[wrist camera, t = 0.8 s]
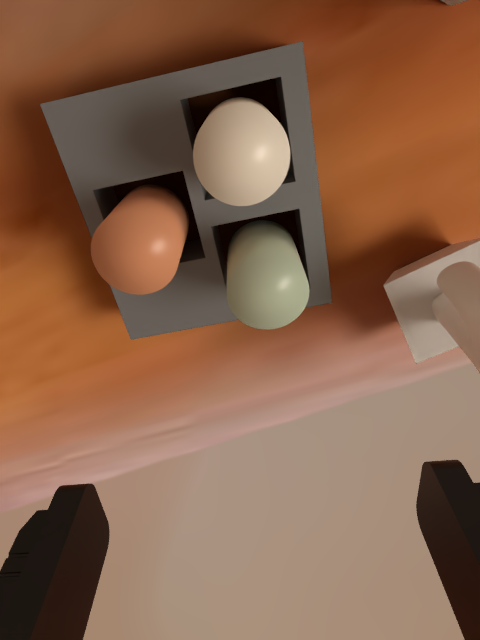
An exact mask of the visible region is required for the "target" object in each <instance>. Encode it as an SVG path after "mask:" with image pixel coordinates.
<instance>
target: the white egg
mask: <svg viewBox="0 0 480 640" xmlns="http://www.w3.org/2000/svg"><path fill="white" fill-rule="evenodd" d="M193 162H194V167H195V171H196V174H197V176H198V179H199V181H200V182H201V184H202V185H203V187H204V188H205V189H206V190H207V191H208V192H209V193H210V194H211V195H212V196H213V197H215V198H216V199H218V200H219V201H221V202H224V203H226V204H229V205H233V206H249V205H254V204H257V203H260V202H262V201H264V200H265V199H267V198H269V197H270V196H271V195H273V194H274V193H275V192H276V191H277V189H278V188H279V187H280V186H281V184H282V183H283V181H284V179H285V177H286V175H287V172H288V168H289V164H290V146H289V141H288V138H287V135H286V133H285V131H284V129H283V127H282V125H281V124H280V122H279V121H278V120H277V119H276V118H275V117H274V116H273V115H272V114H271V113H270V111H269V110H268V109H267V108H266V107H265V106H263V105H262V104H261V103H259V102H258V101H255V100H253V99H250V98H245V97H235V98H230V99H227V100H225V101H223V102H221V103H220V104H218V105H217V106H216V107H215V108H214V109H213V110H212V111H211V112H210V114H209V115H208V117H207V118H206V120H205V121H204V123H203V125H202V126H201V128H200V130H199V132H198V134H197V136H196V139H195V143H194V148H193Z"/></svg>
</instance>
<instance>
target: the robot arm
mask: <svg viewBox="0 0 480 640" xmlns="http://www.w3.org/2000/svg"><path fill="white" fill-rule="evenodd" d="M416 508H417V516H418V521H419V525H420V529H421V531H422V534H423V536H424V539H425V541H426V544H427V546H428V549H429V551H430V554H431V556H432V559H433V561H434V564H435V566H436V569H437V571H438V574H439V576H440V579H441V581H442V584H443V586H444V589H445V591H446V594H447V596H448V599H449V601H450V604H451V606H452V609H453V611H454V614H455V616H456V619H457V621H458V624H459V626H460V629H461V631H462V634H463V636H464V639H465V640H480V483H473V482H472V480H471V478H470V476H469V475H468V473H467V471H466V469H465V468H464V466H463V465H462V463H461V462H460V461H458V460H446V461H432V462H424V464H423V466H422V472H421V478H420V485H419V491H418V497H417V504H416ZM108 544H109V524H108V520H107V518H106V515H105V512H104V510H103V507H102V505H101V502H100V499H99V497H98V494H97V491H96V489H95V487H94V485H93V484H78V485H63V486H60V487H59V488H58V489H57V491H56V492H55V494H54V497H53V499H52V501H51V504H50V506H49V508H48V510H39V511H36V513H35V514H34V515H33V516H32V517H31V518H30V519H29V521H28V522H27V523H26V524H25V525H24V526H23V527H22V528H21V530H20V531H19V533H18V535H17V537H16V539H15V541H14V543H13V545H12V548H11V550H10V552H9V557H8V558H7V559H6V560H5V562H4V564H3V566H2V569H1V571H0V640H83V637H84V633H85V630H86V626H87V622H88V619H89V615H90V611H91V608H92V604H93V600H94V596H95V593H96V589H97V586H98V582H99V578H100V575H101V571H102V567H103V564H104V560H105V556H106V553H107V549H108Z"/></svg>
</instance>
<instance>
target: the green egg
mask: <svg viewBox="0 0 480 640" xmlns="http://www.w3.org/2000/svg"><path fill="white" fill-rule="evenodd" d="M226 293H227V302H228V305H229V307H230V309H231V311H232V313H233V314H234V315H235V316H236V318H237V319H239V320H240V321H241V322H243V323H244V324H246V325H248V326H250V327H253V328H257V329H264V330H267V329H276V328H280V327H283V326H285V325H287V324H289V323H291V322H292V321H294V320H295V319H296V318H297V317H298V316H299V315H300V314H301V313H302V312H303V310H304V309H305V307H306V305H307V302H308V298H309V283H308V280H307V277H306V274H305V271H304V268H303V266H302V263H301V260H300V257H299V254H298V252H297V249H296V246H295V243H294V240H293V238H292V236H291V235H290V233H289V232H288V231H287V230H286V229H285V228H284V227H283V226H281V225H280V224H278V223H275V222H272V221H268V220H258V221H253V222H250V223H247V224H246V225H244V226H242V227H241V228H240V229H238V230H237V231H236V233H235V234H234V235H233V237H232V239H231V241H230V243H229V247H228V263H227V291H226Z"/></svg>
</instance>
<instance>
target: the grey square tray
mask: <svg viewBox="0 0 480 640" xmlns="http://www.w3.org/2000/svg"><path fill="white" fill-rule="evenodd" d="M273 78H275V81H276V88H277V95H278V102H279V108H280V115H281V122H282V127H283V129H284V131H285V133H286V135H287V138H288V141H289V146H290V164H289V168H288V172H287V175H286V177H285V179H284V181H283V183H282V184H281V186H280V187H279V188H278V189H277V191H276V192H275V193H274V194H273V195H271V196H270V197H269V198H267V199H265V200H264V201H262V202H260V203H257V204H254V205H249V206H233V205H229V204H226V203H224V202H221V201H219V200H218V199H216V198H215V197H213V196H212V195H211V194H210V193H209V192H208V191H207V190H206V189H205V188H204V187H203V185H202V184H201V182H200V181H199V179H198V176H197V174H196V171H195V167H194V162H193V148H194V143H195V139H196V132H195V128H194V123H193V119H192V115H191V111H190V106H189V102H188V98H191V97H195V96H199V95H204V94H208V93H212V92H217V91H221V90H225V89H230V88H234V87H238V86H242V85H247V84H251V83H255V82H260V81H264V80H268V79H273ZM40 106H41V108H42V111H43V113H44V116H45V118H46V121H47V124H48V126H49V129H50V131H51V134H52V137H53V139H54V142H55V144H56V147H57V150H58V152H59V155H60V157H61V160H62V163H63V165H64V168H65V170H66V173H67V175H68V178H69V181H70V183H71V186H72V188H73V191H74V194H75V196H76V199H77V201H78V204H79V207H80V209H81V212H82V214H83V217H84V219H85V222H86V225H87V227H88V230H89V232H90V235H91V238H92V237H93V235H94V232H95V231H96V229H97V228H98V226H99V225H100V224H101V223H102V222H103V221H104V220H105V218H106V217H107V216H108V215H109V214H110V213H111V212H112V211H113V209H114V208H115V207H116V206H117V205H118V204H119V202H118V199H117V196H116V193H115V190H114V187H113V186H114V185H119V184H123V183H128V182H133V181H137V180H142V179H146V178H151V177H156V176H160V175H165V174H169V173H174V172H179V171H183V173H184V177H185V181H186V185H187V188H188V192H189V196H190V200H191V204H192V208H193V212H194V215H195V219H196V223H197V227H198V231H199V235H200V239H198V240H193V241H188V242H185V244H184V247H183V251H182V254H181V258H180V261H179V264H178V268H177V271H176V273H175V275H174V277H173V278H172V280H171V281H170V282H169V283H168V284H167V285H166V286H165V287H164V288H162V289H160V290H158V291H156V292H154V293H150V294H144V295H135V294H129V293H125V292H122V291H120V290H118V289H116V288H114V287H113V286H111V285H110V287H111V289H112V292H113V295H114V297H115V300H116V302H117V305H118V307H119V310H120V313H121V315H122V318H123V320H124V323H125V326H126V328H127V331H128V333H129V336H130V339H131V340H132V339H137V338H143V337H148V336H154V335H159V334H165V333H170V332H176V331H181V330H186V329H192V328H197V327H203V326H208V325H214V324H219V323H225V322H230V321H235V320H239V319H237V318H236V316H235V315H234V314H233V313H232V311H231V309H230V307H229V305H228V302H227V293H226V291H227V264H226V259H225V255H224V251H223V247H222V242H221V238H220V234H219V230H218V225H221V224H226V223H231V222H236V221H241V220H246V219H251V218H255V217H260V216H265V215H270V214H275V213H280V212H285V211H290V210H294V213H295V219H296V226H297V233H298V240H299V247H300V254H301V261H302V266H303V268H304V271H305V274H306V277H307V280H308V283H309V298H308V302H307V305H306V307H312V306H317V305H322V304H328V303H332V296H331V287H330V279H329V270H328V261H327V252H326V243H325V234H324V225H323V217H322V208H321V199H320V190H319V181H318V172H317V163H316V154H315V146H314V137H313V128H312V119H311V110H310V101H309V92H308V84H307V75H306V66H305V57H304V48H303V41H302V42H298V43H294V44H290V45H286V46H281V47H277V48H273V49H269V50H265V51H261V52H256V53H252V54H248V55H244V56H240V57H235V58H231V59H227V60H223V61H219V62H214V63H210V64H206V65H202V66H198V67H193V68H189V69H185V70H181V71H177V72H172V73H168V74H164V75H160V76H156V77H151V78H147V79H143V80H139V81H135V82H130V83H126V84H122V85H118V86H114V87H109V88H105V89H101V90H97V91H93V92H88V93H84V94H80V95H76V96H72V97H67V98H63V99H59V100H55V101H51V102H46V103H42V104H40ZM306 307H305V308H306Z"/></svg>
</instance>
